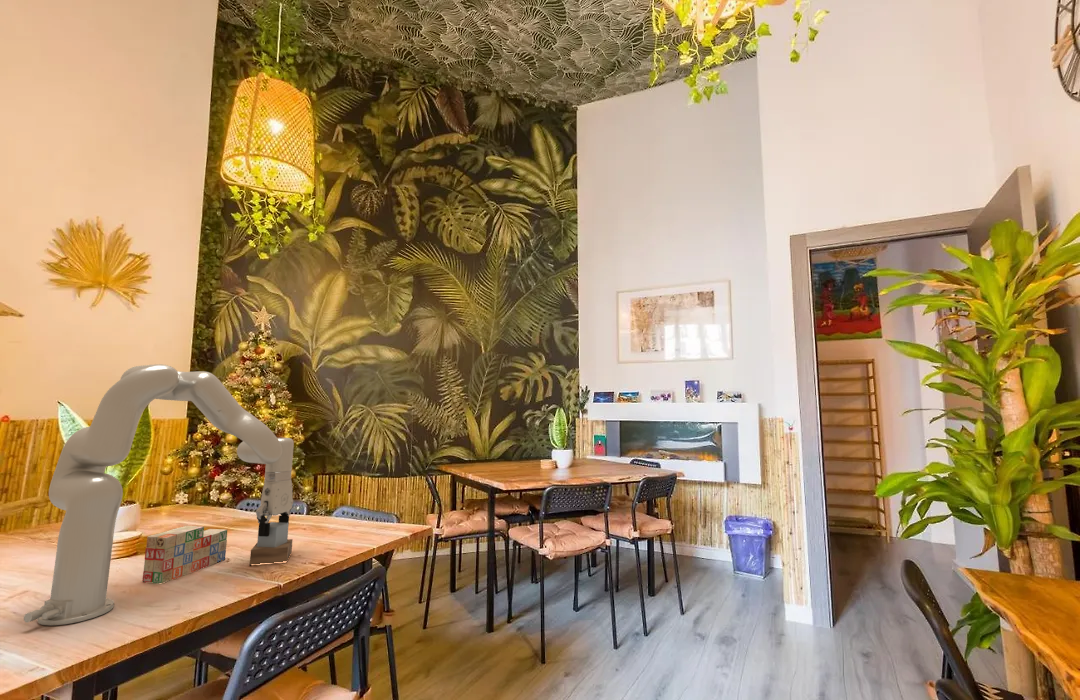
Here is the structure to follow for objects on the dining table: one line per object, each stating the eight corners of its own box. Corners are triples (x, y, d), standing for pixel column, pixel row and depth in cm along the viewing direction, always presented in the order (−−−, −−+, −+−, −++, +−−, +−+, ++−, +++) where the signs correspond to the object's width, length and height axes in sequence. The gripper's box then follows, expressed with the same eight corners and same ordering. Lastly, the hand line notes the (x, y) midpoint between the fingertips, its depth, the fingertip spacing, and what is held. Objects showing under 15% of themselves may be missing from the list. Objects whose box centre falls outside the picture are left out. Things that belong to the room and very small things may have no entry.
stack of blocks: (208, 559, 150) (212, 518, 152) (225, 560, 149) (229, 519, 151) (141, 582, 130) (146, 535, 131) (161, 584, 128) (166, 536, 130)
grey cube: (275, 547, 147) (276, 527, 148) (256, 546, 148) (258, 526, 149) (287, 542, 153) (288, 522, 154) (269, 541, 154) (271, 522, 155)
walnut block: (286, 564, 147) (287, 547, 148) (249, 567, 144) (250, 550, 144) (291, 555, 156) (292, 539, 157) (256, 557, 153) (258, 541, 154)
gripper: (272, 481, 145) (267, 539, 142) (304, 473, 162) (300, 526, 159) (248, 480, 145) (243, 539, 143) (283, 473, 162) (279, 525, 160)
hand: (273, 532), depth 151 cm, fingers open, 9 cm apart
